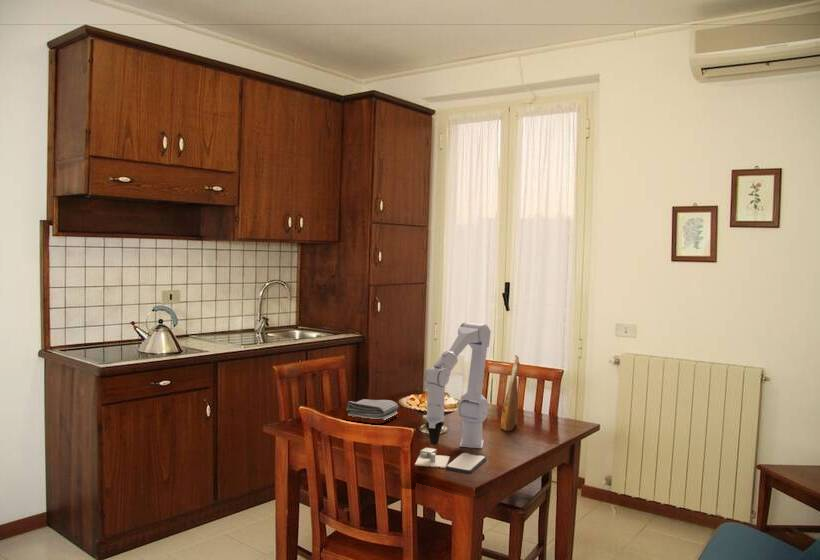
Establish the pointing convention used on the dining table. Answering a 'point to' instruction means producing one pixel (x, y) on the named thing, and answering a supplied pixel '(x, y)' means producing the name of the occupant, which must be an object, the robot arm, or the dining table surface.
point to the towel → (372, 409)
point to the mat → (439, 462)
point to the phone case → (466, 462)
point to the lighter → (429, 453)
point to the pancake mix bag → (511, 400)
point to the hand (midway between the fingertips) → (434, 444)
